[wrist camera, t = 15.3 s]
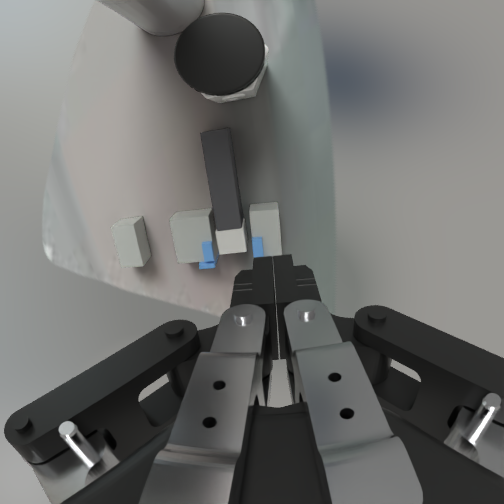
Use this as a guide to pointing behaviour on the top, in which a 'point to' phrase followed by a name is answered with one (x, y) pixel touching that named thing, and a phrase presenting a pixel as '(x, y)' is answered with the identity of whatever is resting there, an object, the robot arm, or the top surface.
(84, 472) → the robot arm
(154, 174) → the top surface
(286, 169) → the top surface
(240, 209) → the tall dark pillar
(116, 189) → the top surface
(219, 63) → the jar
